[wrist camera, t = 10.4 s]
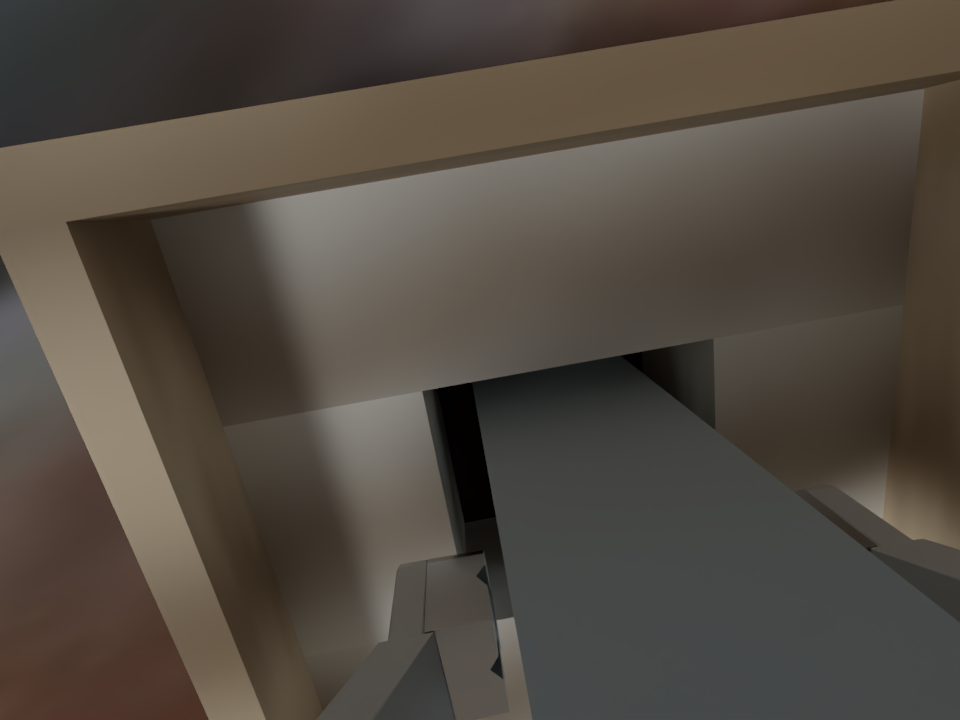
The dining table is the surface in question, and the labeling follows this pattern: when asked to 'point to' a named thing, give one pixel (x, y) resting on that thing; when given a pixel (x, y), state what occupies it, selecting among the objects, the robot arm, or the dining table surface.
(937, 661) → the peg
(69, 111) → the dining table surface
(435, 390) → the crate
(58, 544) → the dining table surface
